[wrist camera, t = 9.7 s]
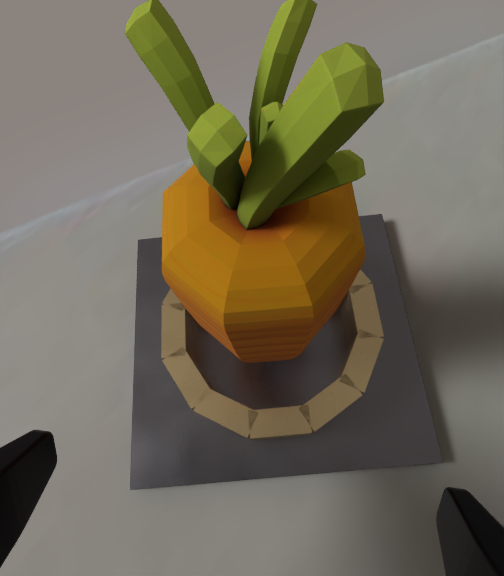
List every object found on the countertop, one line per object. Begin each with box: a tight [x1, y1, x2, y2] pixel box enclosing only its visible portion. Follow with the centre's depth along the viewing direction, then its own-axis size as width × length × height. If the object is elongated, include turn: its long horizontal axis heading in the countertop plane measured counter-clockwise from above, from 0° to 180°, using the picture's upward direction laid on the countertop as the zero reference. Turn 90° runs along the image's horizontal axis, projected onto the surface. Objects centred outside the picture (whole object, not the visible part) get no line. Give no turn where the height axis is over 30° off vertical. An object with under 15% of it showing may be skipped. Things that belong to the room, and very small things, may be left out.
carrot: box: [125, 0, 384, 363], centre depth 12 cm, size 5×5×15 cm
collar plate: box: [130, 214, 443, 490], centre depth 18 cm, size 12×13×3 cm
